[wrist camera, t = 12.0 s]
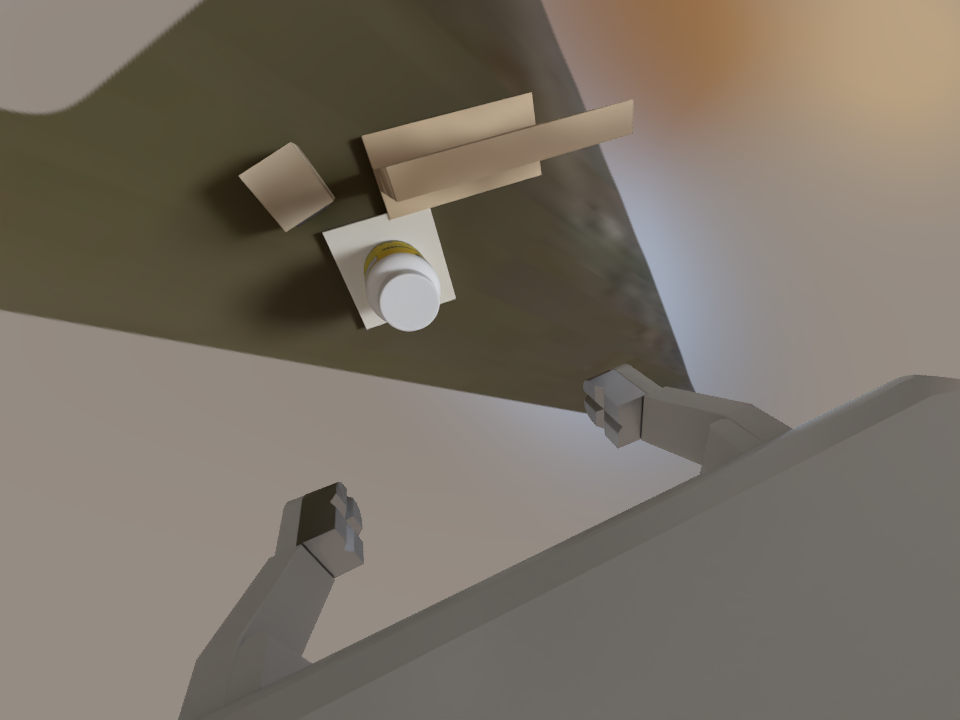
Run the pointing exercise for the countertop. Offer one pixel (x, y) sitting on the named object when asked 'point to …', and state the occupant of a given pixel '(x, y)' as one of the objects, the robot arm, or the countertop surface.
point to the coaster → (365, 234)
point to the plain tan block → (288, 187)
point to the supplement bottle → (401, 285)
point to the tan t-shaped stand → (479, 150)
